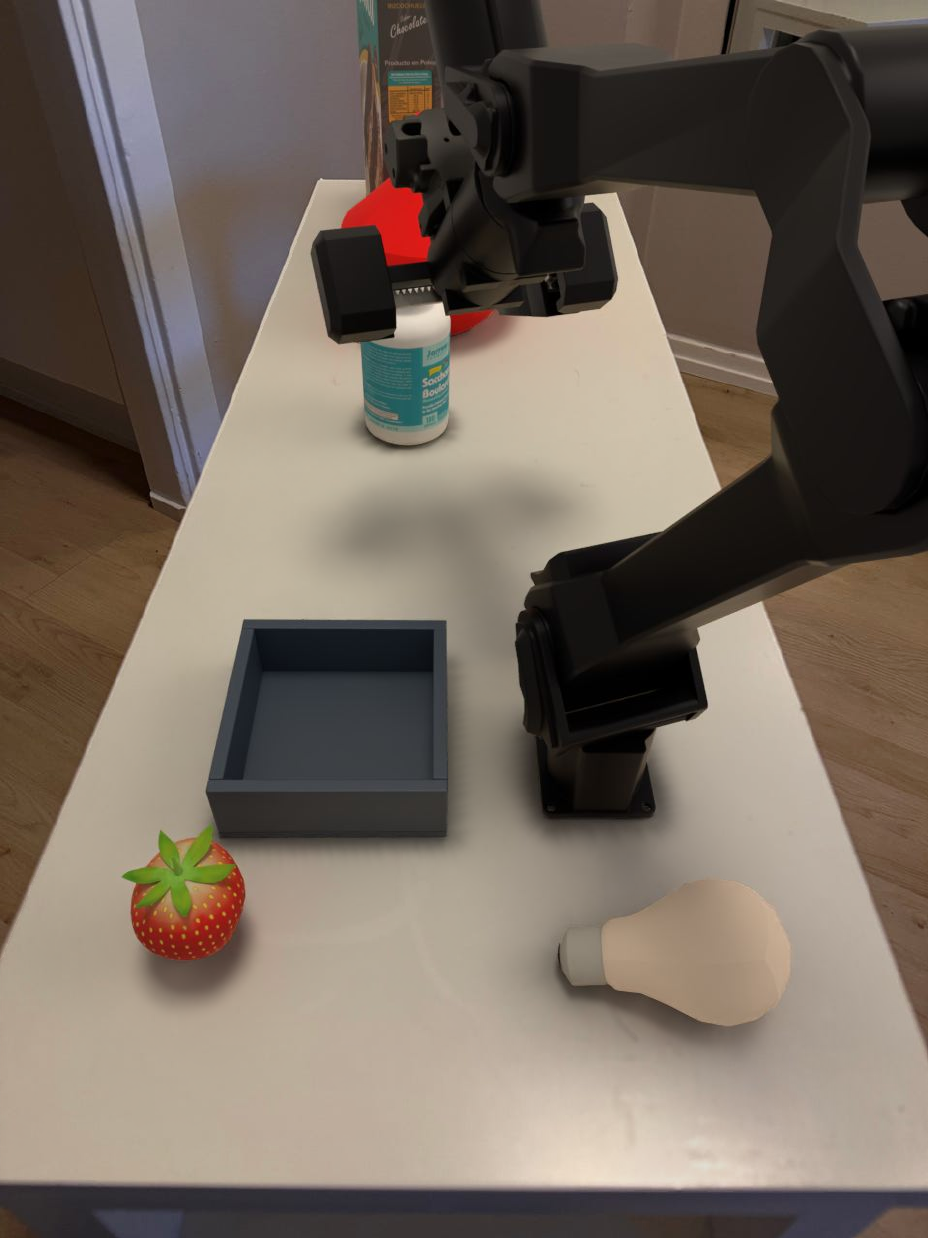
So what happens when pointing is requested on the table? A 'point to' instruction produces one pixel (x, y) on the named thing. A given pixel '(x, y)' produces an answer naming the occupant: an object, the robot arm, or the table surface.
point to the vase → (402, 234)
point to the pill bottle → (409, 377)
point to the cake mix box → (392, 73)
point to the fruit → (187, 898)
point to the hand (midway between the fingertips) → (439, 315)
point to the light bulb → (689, 952)
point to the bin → (334, 731)
